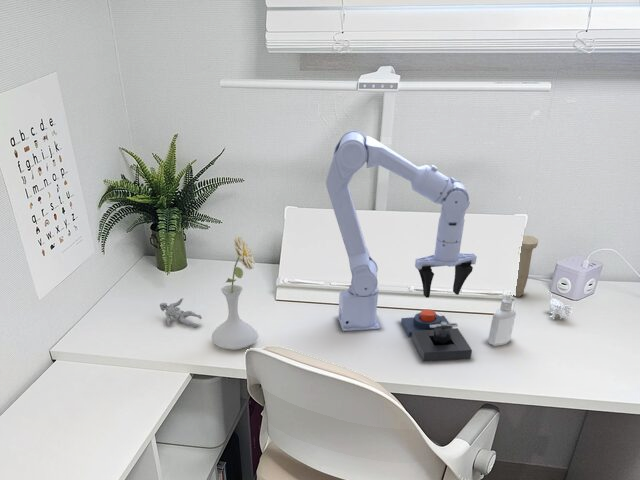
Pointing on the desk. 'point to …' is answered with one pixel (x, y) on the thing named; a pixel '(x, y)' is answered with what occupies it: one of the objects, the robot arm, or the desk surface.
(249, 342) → the flower in vase
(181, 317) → the soldier figure
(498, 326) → the eye dropper bottle
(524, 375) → the desk surface
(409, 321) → the switch box
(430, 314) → the stop button
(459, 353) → the square hole block
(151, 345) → the desk surface
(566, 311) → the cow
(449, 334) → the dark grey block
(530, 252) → the handle
